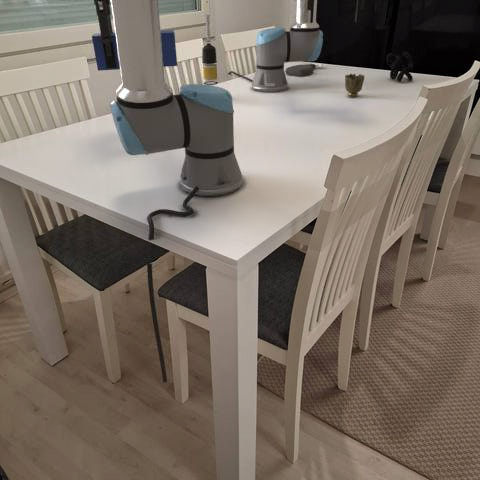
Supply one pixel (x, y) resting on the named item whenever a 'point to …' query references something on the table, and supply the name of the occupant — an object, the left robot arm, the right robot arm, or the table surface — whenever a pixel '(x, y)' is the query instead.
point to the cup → (353, 84)
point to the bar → (166, 41)
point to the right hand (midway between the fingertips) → (333, 22)
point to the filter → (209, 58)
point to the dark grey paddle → (302, 69)
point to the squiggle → (399, 66)
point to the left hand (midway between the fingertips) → (112, 65)
